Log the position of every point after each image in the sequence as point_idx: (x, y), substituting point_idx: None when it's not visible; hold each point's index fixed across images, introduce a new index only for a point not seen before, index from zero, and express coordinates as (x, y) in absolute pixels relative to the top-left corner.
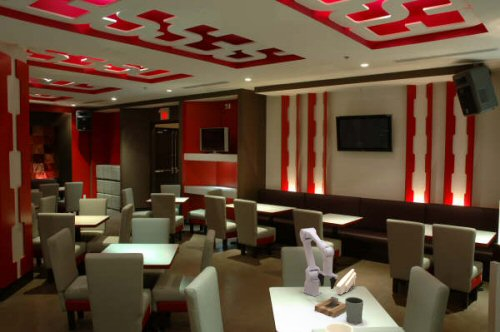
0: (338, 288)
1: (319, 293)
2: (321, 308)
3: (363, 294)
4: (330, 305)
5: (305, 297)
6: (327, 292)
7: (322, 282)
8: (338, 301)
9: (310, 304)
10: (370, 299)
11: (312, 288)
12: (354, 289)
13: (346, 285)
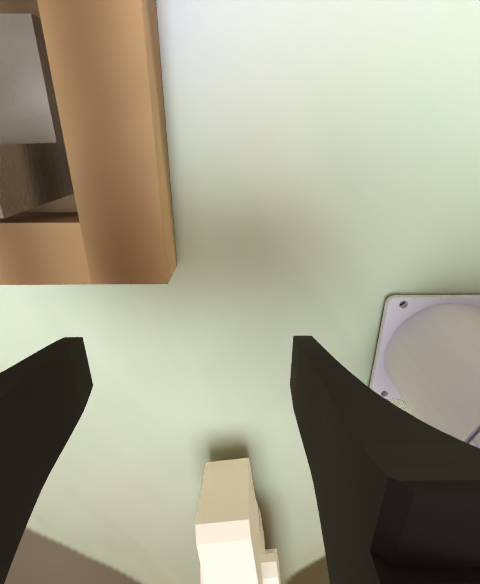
0: (225, 501)
1: (378, 371)
2: None
3: (117, 551)
4: (47, 142)
5: (463, 207)
6: None
7: (306, 401)
8: (41, 282)
9: (312, 63)
10: None
11: (466, 344)
12: None
13: (202, 577)
